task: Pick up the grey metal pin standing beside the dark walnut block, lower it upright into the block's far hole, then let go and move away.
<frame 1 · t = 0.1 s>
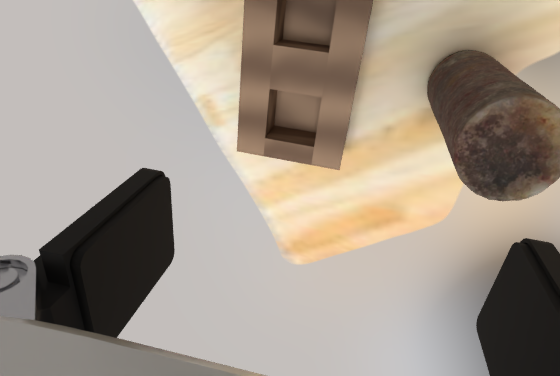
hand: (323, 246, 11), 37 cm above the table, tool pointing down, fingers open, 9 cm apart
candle: (460, 83, 42), on the table
hole block: (307, 61, 44), on the table
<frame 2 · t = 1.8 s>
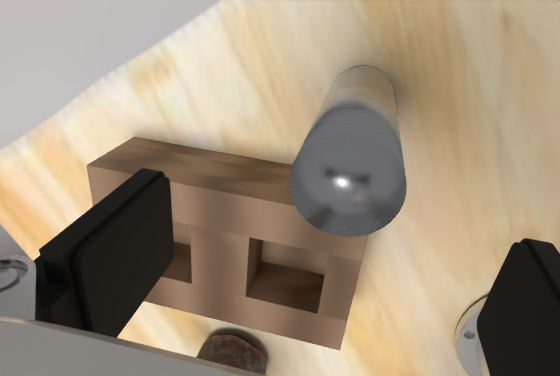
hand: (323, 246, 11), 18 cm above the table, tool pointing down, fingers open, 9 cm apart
pin: (361, 98, 27), on the table
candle: (237, 349, 42), on the table
hole block: (243, 220, 34), on the table
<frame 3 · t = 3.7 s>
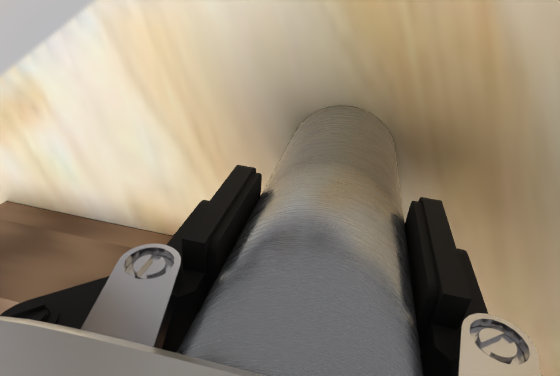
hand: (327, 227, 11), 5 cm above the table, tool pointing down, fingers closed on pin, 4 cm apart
pin: (341, 157, 16), on the table, touching gripper
hole block: (176, 316, 23), on the table
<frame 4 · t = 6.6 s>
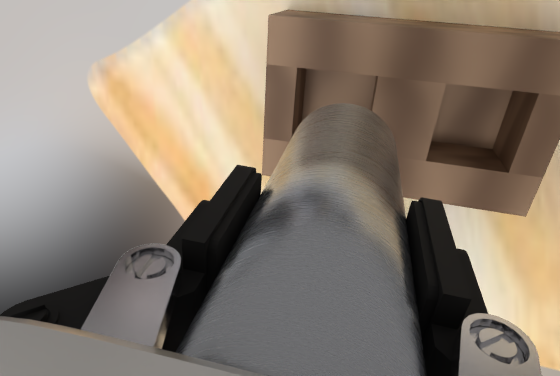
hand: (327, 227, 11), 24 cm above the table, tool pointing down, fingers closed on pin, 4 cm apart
pin: (341, 155, 16), point 18 cm above the table, touching gripper
hole block: (399, 98, 32), on the table
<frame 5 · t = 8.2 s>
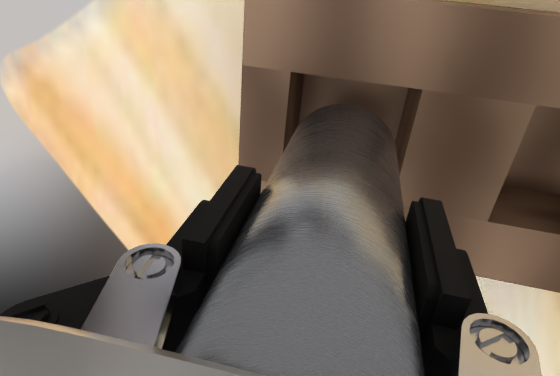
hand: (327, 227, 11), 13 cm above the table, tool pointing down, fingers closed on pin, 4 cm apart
pin: (341, 155, 16), point 8 cm above the table, touching gripper
hole block: (437, 118, 22), on the table
when the fingers open (7 cm above the table, at t = 9.8 s): pin stays where it is, resting on hole block.
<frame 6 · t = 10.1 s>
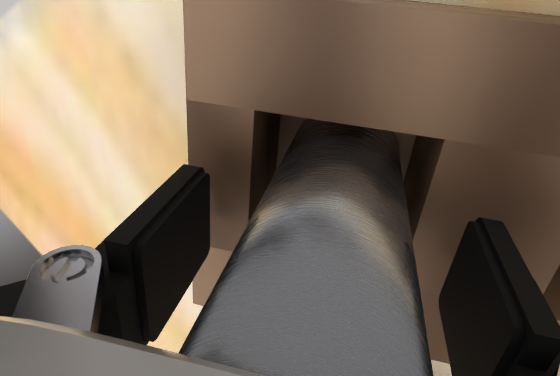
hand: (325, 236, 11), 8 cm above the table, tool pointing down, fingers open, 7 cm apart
pin: (344, 152, 16), point 2 cm above the table, touching hole block
hole block: (456, 158, 17), on the table
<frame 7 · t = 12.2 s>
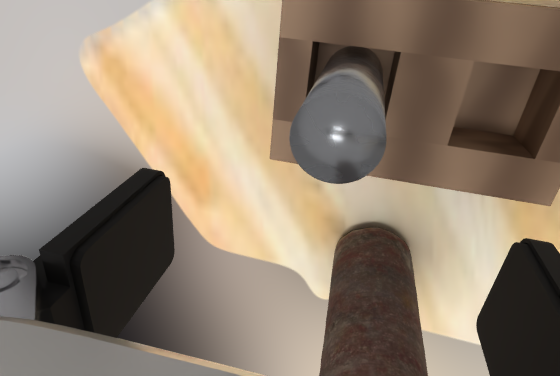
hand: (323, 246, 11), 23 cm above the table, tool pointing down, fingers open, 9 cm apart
pin: (353, 75, 30), point 2 cm above the table, touching hole block
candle: (372, 249, 39), on the table
hole block: (415, 80, 30), on the table
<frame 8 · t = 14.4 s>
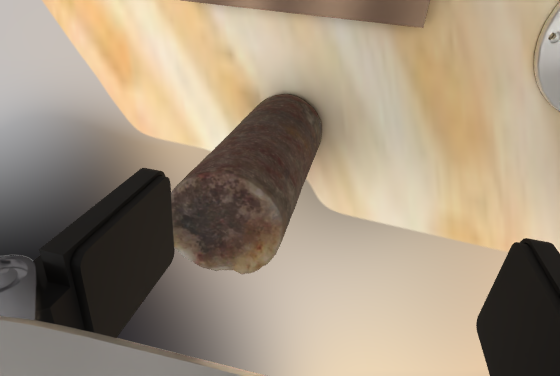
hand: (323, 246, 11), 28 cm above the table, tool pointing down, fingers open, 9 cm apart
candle: (288, 125, 39), on the table
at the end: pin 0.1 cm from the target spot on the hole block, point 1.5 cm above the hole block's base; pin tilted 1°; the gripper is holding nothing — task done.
